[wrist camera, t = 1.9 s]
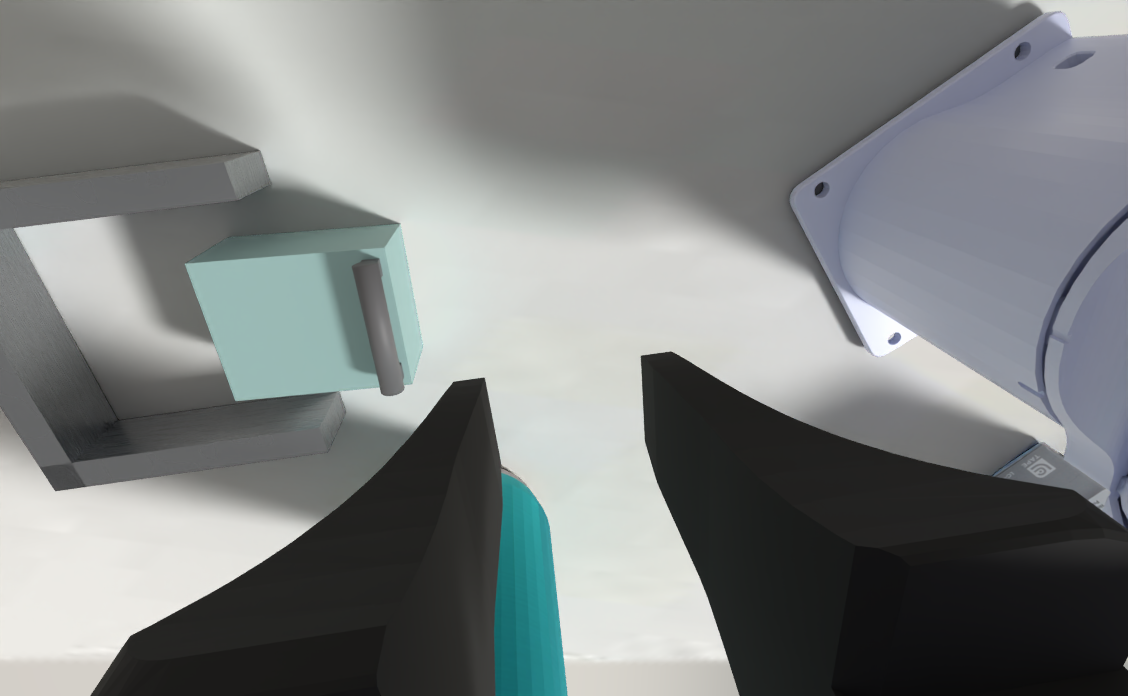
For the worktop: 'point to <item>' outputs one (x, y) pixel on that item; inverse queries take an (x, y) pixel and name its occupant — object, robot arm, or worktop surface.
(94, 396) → the bay
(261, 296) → the mint cube with handle
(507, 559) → the beverage can
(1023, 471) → the label tape box
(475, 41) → the worktop surface
